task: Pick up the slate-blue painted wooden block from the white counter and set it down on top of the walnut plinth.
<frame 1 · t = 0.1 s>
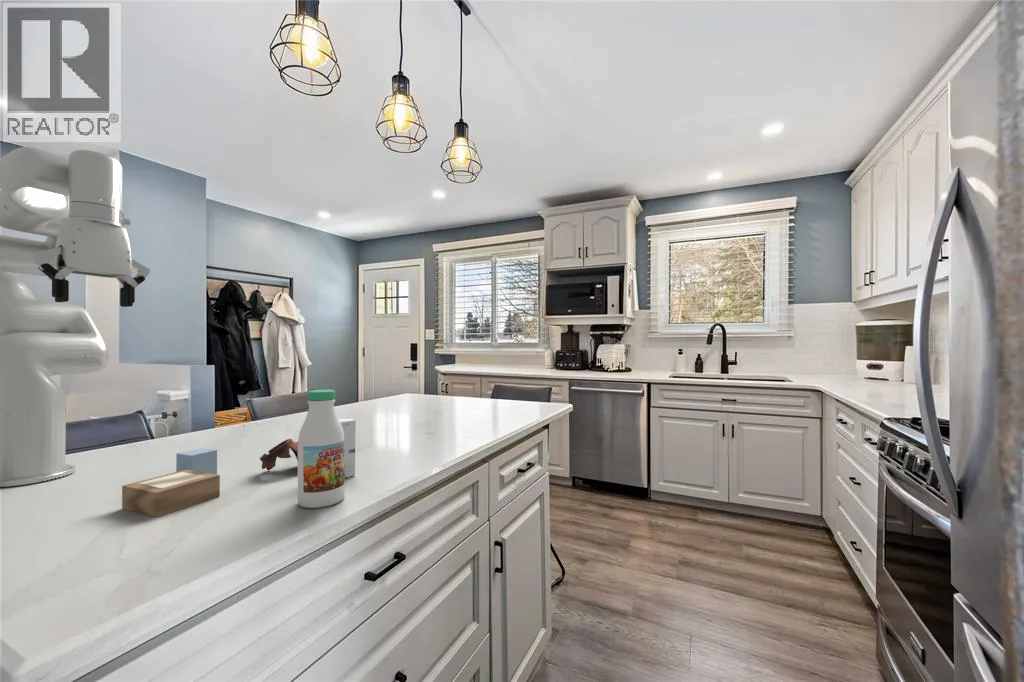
hand: (95, 304, 81), 37 cm above the worktop, tool pointing down, fingers open, 9 cm apart
slate block: (197, 479, 87), on the worktop
skincare box: (338, 477, 88), on the worktop
walnut plinth: (172, 502, 74), on the worktop
milk bottle: (321, 502, 74), on the worktop
brown curved piece: (291, 471, 93), on the worktop
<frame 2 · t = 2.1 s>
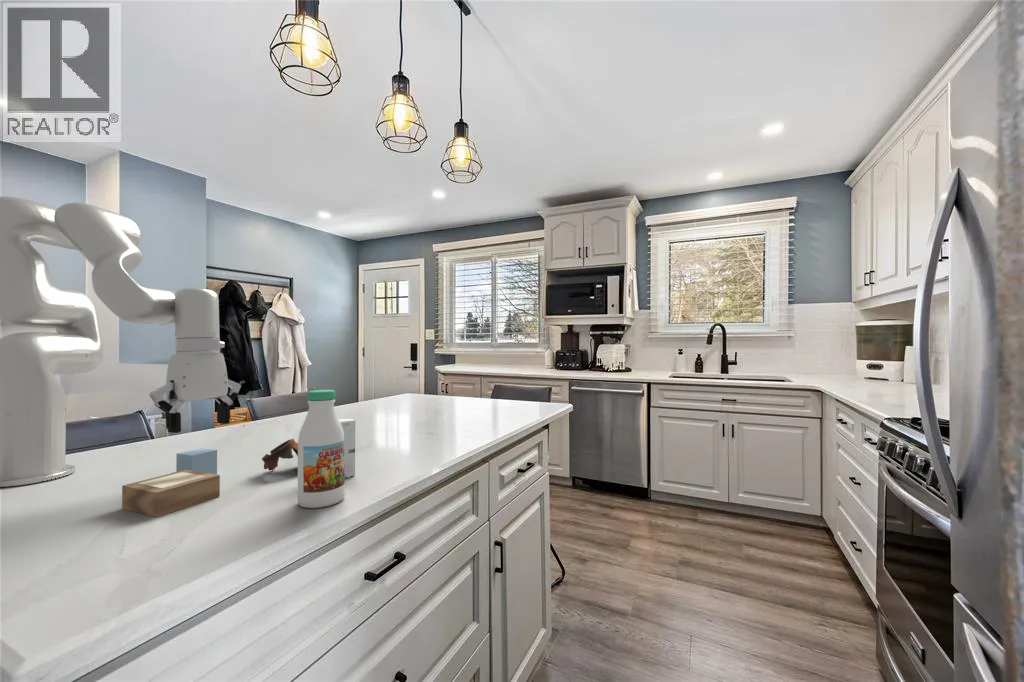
hand: (200, 427, 87), 11 cm above the worktop, tool pointing down, fingers open, 9 cm apart
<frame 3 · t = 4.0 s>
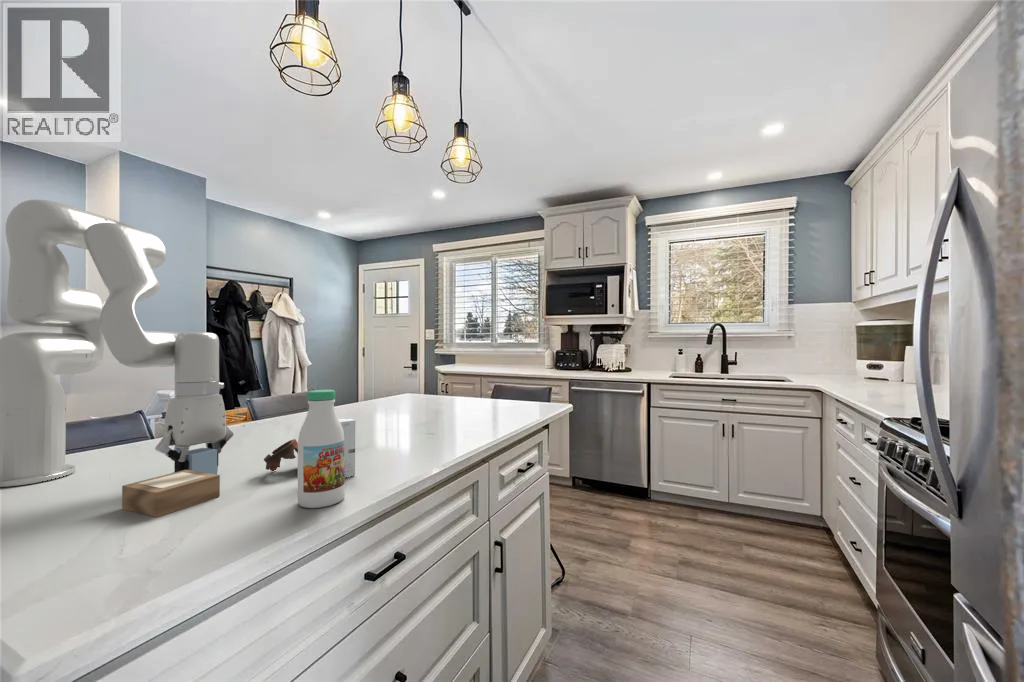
hand: (197, 474, 87), 1 cm above the worktop, tool pointing down, fingers closed on slate block, 5 cm apart
slate block: (197, 479, 87), on the worktop, touching gripper
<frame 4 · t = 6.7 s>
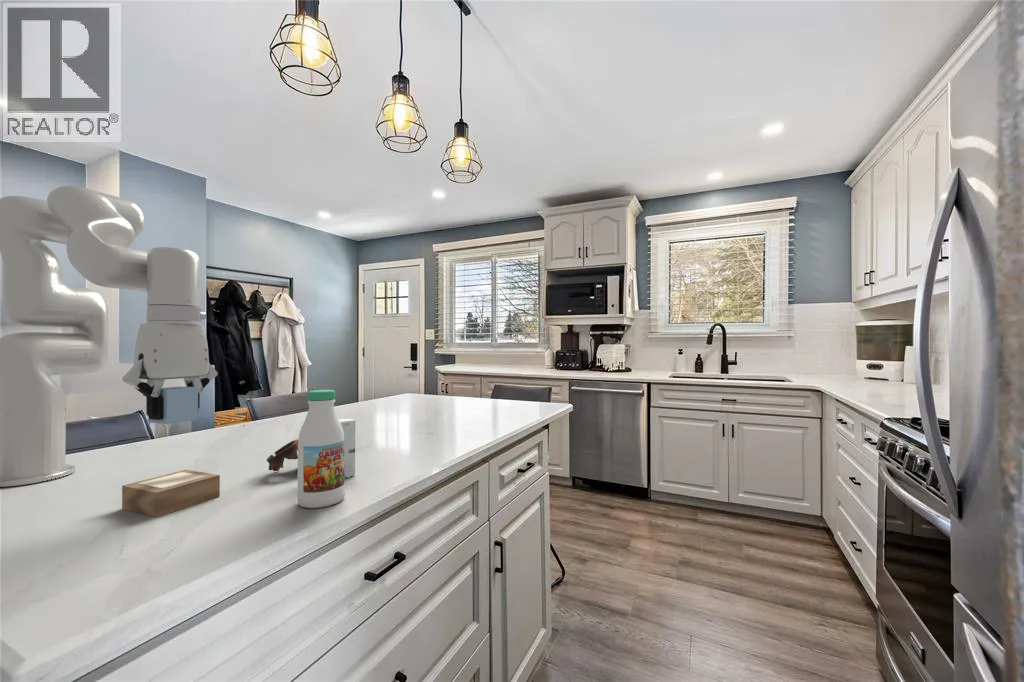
hand: (174, 415, 75), 16 cm above the worktop, tool pointing down, fingers closed on slate block, 5 cm apart
slate block: (174, 421, 75), point 15 cm above the worktop, touching gripper
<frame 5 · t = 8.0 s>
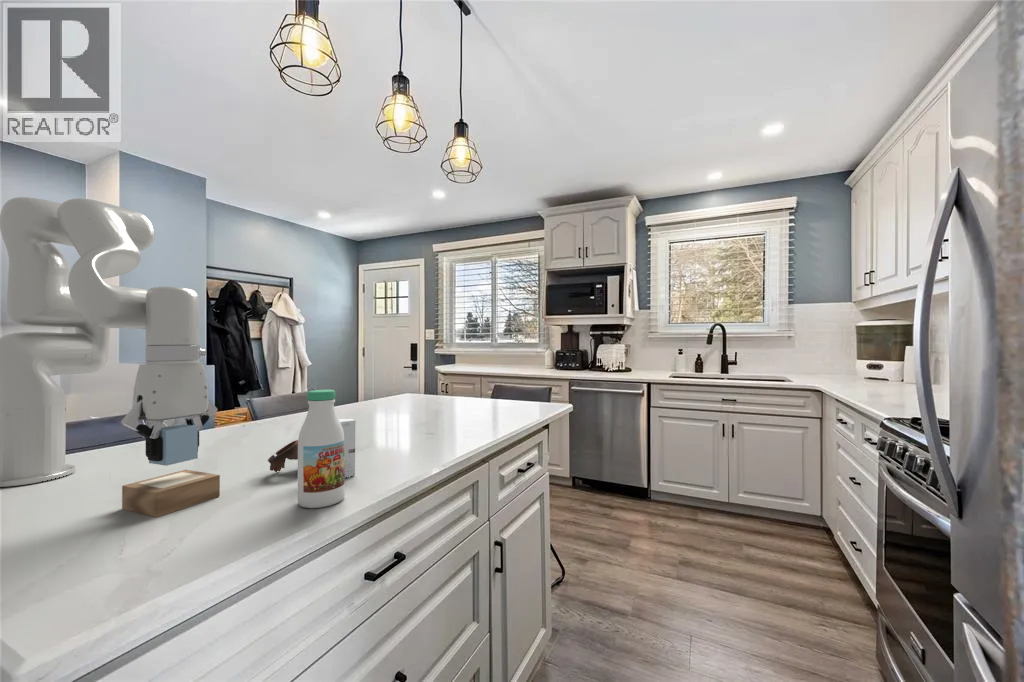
hand: (173, 455, 74), 9 cm above the worktop, tool pointing down, fingers closed on slate block, 5 cm apart
slate block: (173, 460, 74), point 8 cm above the worktop, touching gripper
when the fingers open (6 cm above the worktop, at t = 9.3 s): slate block stays where it is, resting on walnut plinth.
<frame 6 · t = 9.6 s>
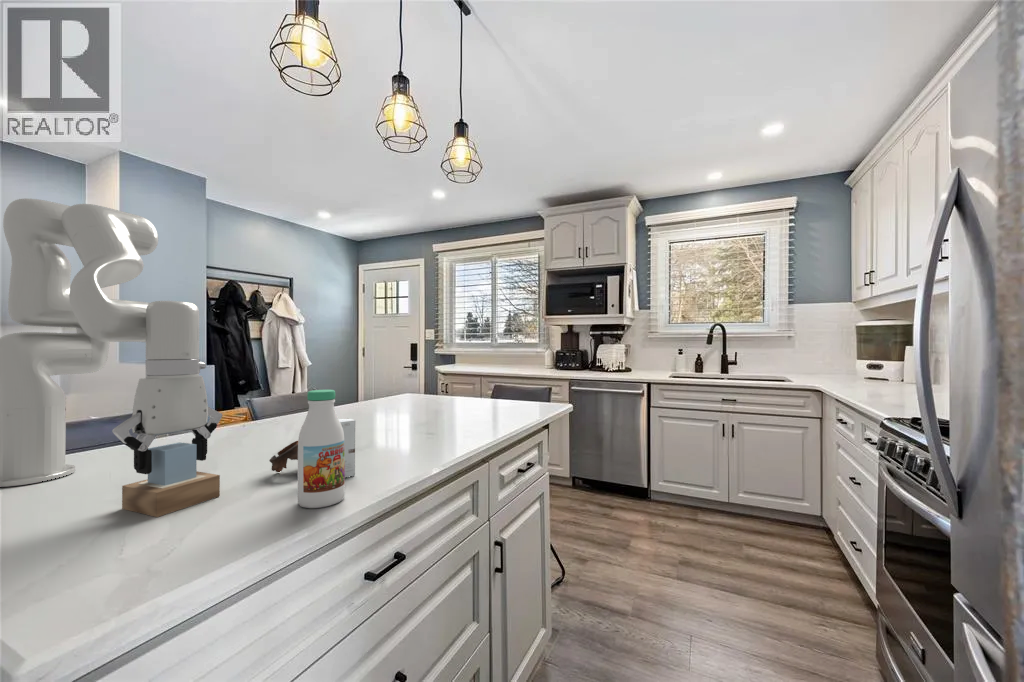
hand: (172, 465, 74), 7 cm above the worktop, tool pointing down, fingers open, 8 cm apart
slate block: (172, 479, 74), point 4 cm above the worktop, touching walnut plinth
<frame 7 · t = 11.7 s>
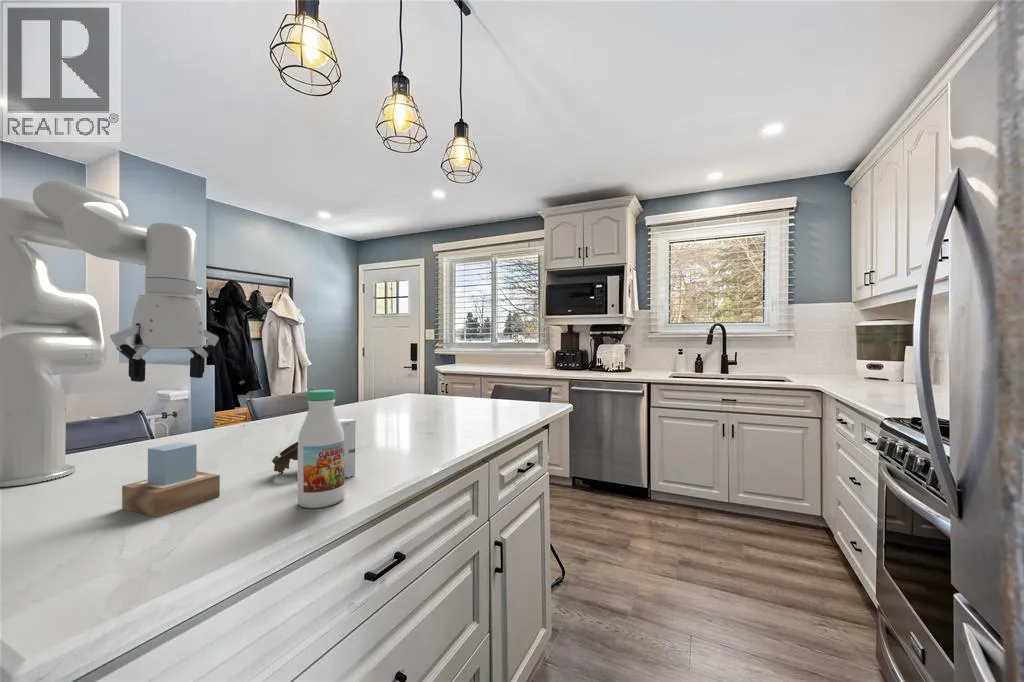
hand: (168, 379, 79), 22 cm above the worktop, tool pointing down, fingers open, 9 cm apart
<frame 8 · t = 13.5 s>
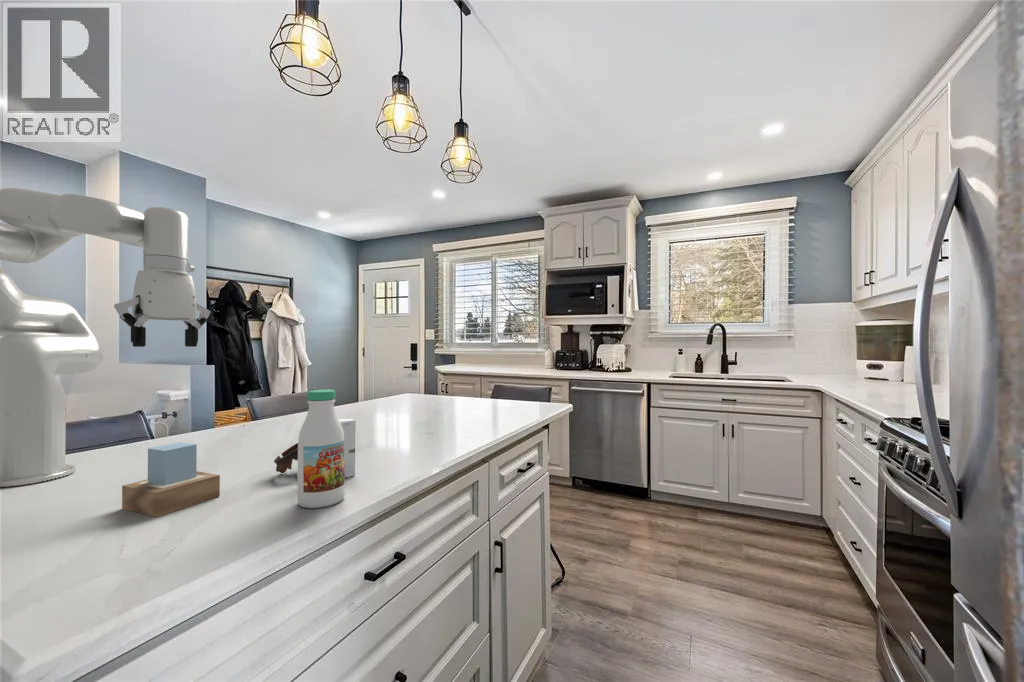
hand: (166, 346, 88), 28 cm above the worktop, tool pointing down, fingers open, 9 cm apart
at the end: slate block inside the target area on the walnut plinth (0.0 cm from its centre), point 4.1 cm above the walnut plinth's base; slate block tilted 0°; the gripper is holding nothing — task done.
